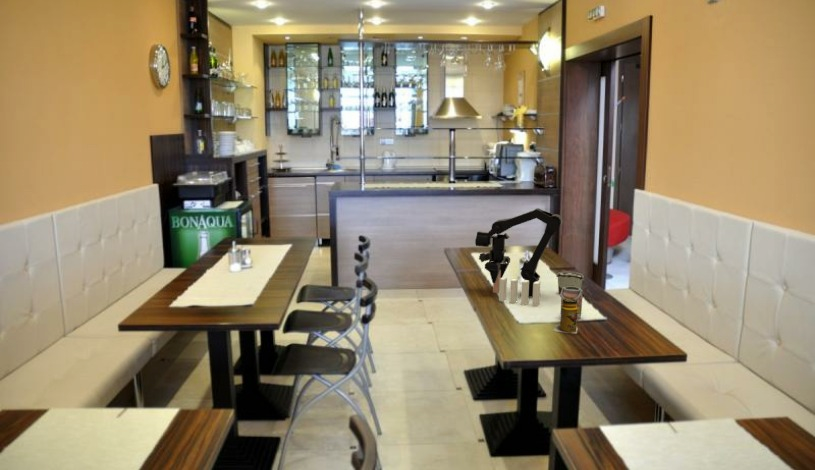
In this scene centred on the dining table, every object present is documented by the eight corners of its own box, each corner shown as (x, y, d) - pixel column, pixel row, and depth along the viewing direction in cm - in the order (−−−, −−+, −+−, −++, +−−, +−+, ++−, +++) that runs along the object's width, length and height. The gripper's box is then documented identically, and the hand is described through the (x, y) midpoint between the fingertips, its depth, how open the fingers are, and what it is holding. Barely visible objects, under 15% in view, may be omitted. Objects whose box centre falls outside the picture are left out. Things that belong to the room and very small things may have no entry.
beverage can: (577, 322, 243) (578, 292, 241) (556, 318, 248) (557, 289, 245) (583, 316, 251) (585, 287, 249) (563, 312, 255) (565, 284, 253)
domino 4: (528, 302, 269) (529, 280, 267) (525, 304, 266) (526, 282, 264) (523, 302, 270) (524, 279, 268) (520, 304, 267) (521, 281, 265)
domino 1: (500, 291, 287) (500, 270, 286) (497, 293, 284) (497, 271, 282) (495, 290, 288) (496, 269, 287) (493, 292, 285) (493, 271, 283)
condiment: (576, 334, 230) (578, 303, 228) (553, 331, 232) (555, 300, 230) (577, 328, 237) (579, 297, 234) (555, 325, 239) (556, 295, 237)
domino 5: (539, 304, 267) (540, 281, 265) (536, 306, 264) (537, 283, 262) (534, 303, 268) (535, 281, 266) (532, 305, 264) (533, 283, 263)
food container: (585, 294, 284) (586, 272, 282) (582, 297, 278) (584, 275, 276) (558, 290, 289) (559, 270, 287) (555, 294, 283) (556, 272, 281)
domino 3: (517, 301, 272) (518, 279, 270) (514, 303, 268) (515, 281, 266) (512, 300, 272) (513, 278, 271) (509, 302, 269) (510, 280, 267)
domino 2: (506, 299, 274) (507, 277, 272) (503, 301, 270) (504, 279, 268) (501, 298, 275) (502, 277, 273) (498, 301, 271) (499, 279, 269)
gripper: (488, 242, 294) (487, 274, 297) (474, 249, 278) (473, 283, 281) (511, 244, 289) (509, 277, 292) (497, 252, 273) (496, 286, 276)
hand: (497, 280), depth 285 cm, fingers open, 9 cm apart
